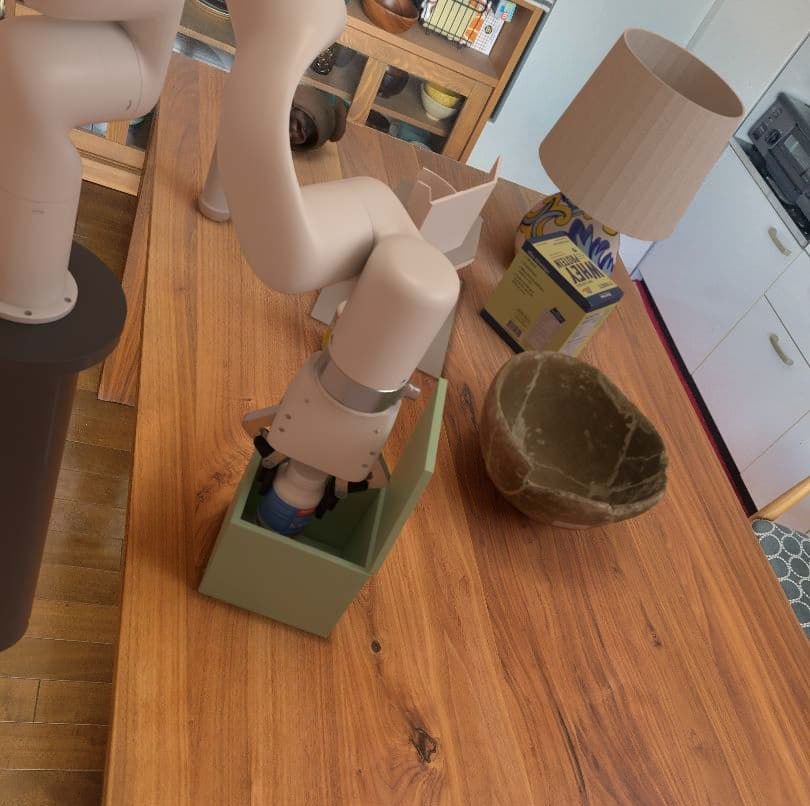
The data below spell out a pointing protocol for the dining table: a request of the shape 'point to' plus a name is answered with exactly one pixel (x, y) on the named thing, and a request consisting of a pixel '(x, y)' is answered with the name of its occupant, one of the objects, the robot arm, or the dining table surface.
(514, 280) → the protein box
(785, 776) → the dining table surface
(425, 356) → the architectural model
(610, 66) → the table lamp
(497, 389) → the bowl
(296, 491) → the pill bottle
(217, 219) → the bottle
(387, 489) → the lid
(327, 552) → the box
